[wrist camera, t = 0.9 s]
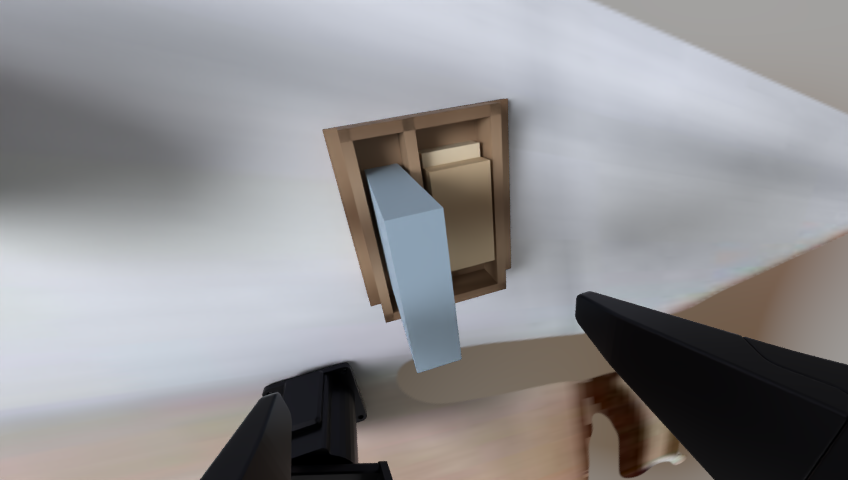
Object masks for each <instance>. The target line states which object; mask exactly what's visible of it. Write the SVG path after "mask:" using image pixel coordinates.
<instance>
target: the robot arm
mask: <svg viewBox="0 0 848 480" xmlns="http://www.w3.org/2000/svg"><path fill="white" fill-rule="evenodd" d="M575 317H576V320H577V322H578V324H579V325H580V326H581V328H582V329H583V330H584V332H585V333H586V334H587V335H588V337H589V338H590V340H591V341H592V342H593V343H594V345H595V346H596V347H597V349H598V350H599V351H600V353H601V354H602V355H603V357H604V358H605V359H606V361H608V363H609V364H610V365H611V366H612V368H613V369H614V370H615V371H616V372H617V373H618V374H619V376H620V377H621V378H622V379H623V380H624V381H625V382H626V383H627V384H628V385H629V387H630V388H631V389H632V390H633V391H634V392H635V393H636V394H637V395H638V396H639V398H640V399H641V400H642V401H643V402H644V403H645V404H646V405H647V406H648V407H649V409H650V410H651V411H652V412H653V413H654V414H655V415H656V416H657V417H658V418H659V420H660V421H661V422H662V423H663V424H664V425H665V426H666V427H667V428H668V429H669V430H670V432H671V433H672V434H673V435H674V436H675V437H676V438H677V439H678V440H679V441H680V443H681V444H682V445H683V446H684V447H685V448H686V449H687V450H688V451H689V452H690V454H691V455H692V456H693V457H694V458H695V459H696V460H697V461H698V462H699V463H700V464H701V466H702V467H703V468H704V469H705V470H706V471H707V472H708V473H709V474H710V475H711V476H712V478H713V479H714V480H848V365H847V364H843V363H839V362H834V361H831V360H827V359H823V358H819V357H815V356H811V355H808V354H804V353H800V352H796V351H792V350H789V349H785V348H781V347H778V346H775V345H771V344H767V343H764V342H761V341H758V340H754V339H751V338H748V337H742V336H740V335H737V334H734V333H730V332H727V331H724V330H720V329H717V328H714V327H710V326H707V325H703V324H700V323H697V322H693V321H690V320H686V319H683V318H680V317H676V316H673V315H670V314H666V313H663V312H659V311H656V310H653V309H649V308H646V307H642V306H639V305H636V304H632V303H629V302H626V301H622V300H619V299H615V298H612V297H609V296H605V295H602V294H598V293H595V292H591V291H589V292H585V293H582V294H579V295H578V296H577V298H576V311H575ZM343 369H346V370H343ZM270 392H271V393H270ZM262 396H263V397H262V398H261V399H260V400H259V401H258V402H257V404H256V405H255V406H254V408H253V409H252V410H251V412H250V413H249V414H248V416H247V417H246V418H245V420H244V421H243V422H242V424H241V425H240V426H239V428H238V429H237V430H236V432H235V433H234V434H233V436H232V437H231V439H230V440H229V441H228V443H227V444H226V445H225V447H224V448H223V449H222V451H221V452H220V453H219V455H218V456H217V457H216V459H215V460H214V461H213V463H212V464H211V465H210V467H209V468H208V470H207V471H206V472H205V474H204V475H203V476H202V478H201V479H200V480H393V479H392V476H391V473H390V470H389V467H388V464H387V461H379V462H378V463H358V447H357V428H356V423H357V422H360V421H363V420H365V419H366V417H367V414H366V409H365V406H364V403H363V400H362V398H361V395H360V392H359V389H358V386H357V383H356V380H355V377H354V375H353V372H352V369H351V366H350V365H349V364H348V363H342V364H338V365H335V366H332V367H328V368H325V369H322V370H318V371H315V372H312V373H308V374H305V375H302V376H298V377H295V378H292V379H288V380H285V381H282V382H278V383H275V384H272V385H268V386H266V387H265V388H264V390H263V394H262Z"/></svg>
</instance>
